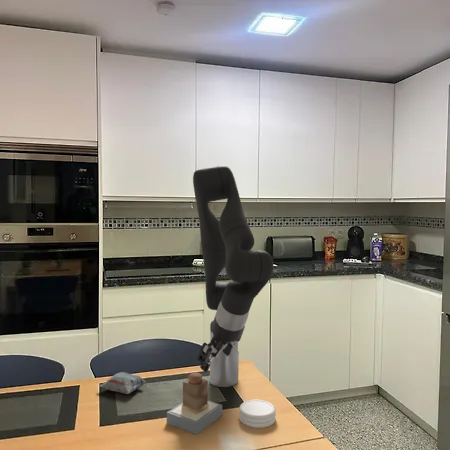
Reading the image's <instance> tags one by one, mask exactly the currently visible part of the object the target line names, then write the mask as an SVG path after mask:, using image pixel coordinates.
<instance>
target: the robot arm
mask: <svg viewBox="0 0 450 450" xmlns="http://www.w3.org/2000/svg"><path fill="white" fill-rule="evenodd" d="M192 183H193V192H194V196H195V197H194V198H195V204H196V209H197V214H198V220H199V221H198V222H199V232H200V244H201V245H200V246H201V253H202V260H203V267H204V277H205V278H204V279H205V280H204V281H205V283H204V284H205V301H206V304H207V305H206V306H207V308H208V310H209V309H210V310H212V311H215V315H214V318H213V320H212V321H211V322H210V325H209V326H210V329H209V342H208V343H207V342H203V343H202V345H201V347H200V349H199V353H198V356H197V358H196V360H197V362H199V363H200V366H199V367H200V369H201V370H202V371H203V372H204V373H207V372H209V384H211V385H213V386H214V387H219V388H228V387H229V388H230V387H234V386H236V385H237V384H238V380H239V362H240V361H239V359H240V358H239V354H240V352H239V347H238V346H239V342H240V341H241V339H242V336H243V333H244V330H245V327H246V326H245V325H246V323H247V321H248V318H249V314H250V310H251V306H252V304H253V302H254V299H255V298H256V297H257V296H258V295H259V293H260V292H261V291H262V290H263V289H264V287H265V286H266V285H267V283H269V281H270V279H271V277H272V275H273V272H274V259H273V257H272V255H271V253H269V252H267V251H265V250H258V249H257V250H255V249H254V250H253V248H254V245H255V238H254V235H253V232H252V230H251V228H250V226H249V225H250V224H248V220H247V219H246V216H245V213H244V209H243V206H242V202H241V197H240V193H239V190H238V187H237V182H236V179H235V176H234V173H233V172H232V169H231V168H230V167H229V166H227V165H218V166H212V167H206V168H205V167H204V168H200V169H197V170H195V171H194V172H193V175H192ZM225 199H226V204H225V206H224V208H223V210H222V212H221V214H220V217H219V219H218V217H217V216H216V215H215V214H214V212H213V211H212V210H211V207H210V206H209V203H211V202H217V201H221V200H223V201H224V200H225ZM224 269H225V272H226V273H225V274H226V275H227V277H228V278H229V279H230V281H229V282H225V281H223V282H221V281H217V279H218V276H219V275H220V274H221V272H222V271H223V270H224Z"/></svg>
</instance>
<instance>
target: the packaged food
mask: <svg viewBox="0 0 450 450" xmlns="http://www.w3.org/2000/svg"><path fill="white" fill-rule="evenodd" d="M146 384H147V382H146V381H145V379H143V377H142V376H140V375H138V374H137V375H136V374H132V373H128V372H125V371H121V372H118V373H115V374H114V375H112V376H111V377H110V378H108V380H106V381H105V382H103V383H102V384H100V385H99V387H100V388H105V389H106V390H107V391H111V392H116V393H117V392H118V393H119V394H125V395H129V394H131V393H132V392H134V391H136V390H139V388H141V387H143V386H144V385H146Z"/></svg>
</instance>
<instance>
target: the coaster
mask: <svg viewBox="0 0 450 450" xmlns="http://www.w3.org/2000/svg"><path fill="white" fill-rule="evenodd" d="M238 408H239V412H238V413H239V414H238V415H239V416H238V417H239V418H238V419H239V420H240V422H241V423H242V424H243V425H245V426H247V427H250V428H255V429H261V428H262V429H263V428H267V427H270V426H272V425H273V424H275V422H276V419H277V418H276V414H277V413H276V412H277V411H276V406H275V405H273V404H272V403H271V402H269V401H267V400H262V399H250V400H249V399H248V400H245V401H244V402H242V403H241V404H240V405H239V407H238Z"/></svg>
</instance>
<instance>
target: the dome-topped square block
mask: <svg viewBox="0 0 450 450" xmlns="http://www.w3.org/2000/svg"><path fill="white" fill-rule="evenodd" d="M208 385H209V381H208V380H207V379H204V378H203V374H201V373H199V372H192V373H190V374H188V379H185V380H183V381H182V403H183V404H182V409H183V410H185V411H188V412H190V413H192V414H195V415H197V414H199V413H200V412H202V411H204V410H205V409H207V408H209V403H208V400H209V399H208V395H209V392H208V391H209V386H208Z"/></svg>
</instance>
